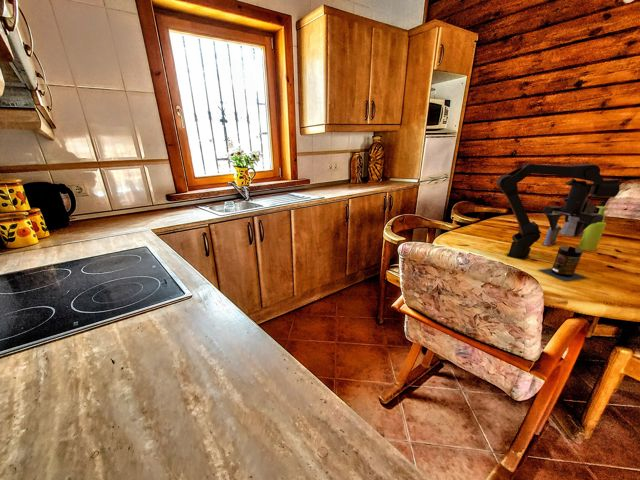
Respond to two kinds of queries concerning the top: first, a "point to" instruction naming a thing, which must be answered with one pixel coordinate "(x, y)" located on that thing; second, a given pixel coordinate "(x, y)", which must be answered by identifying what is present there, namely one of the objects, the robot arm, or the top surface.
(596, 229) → the soap dispenser
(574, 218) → the coffeepot
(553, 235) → the flask
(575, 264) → the supplement container
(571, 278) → the mat
